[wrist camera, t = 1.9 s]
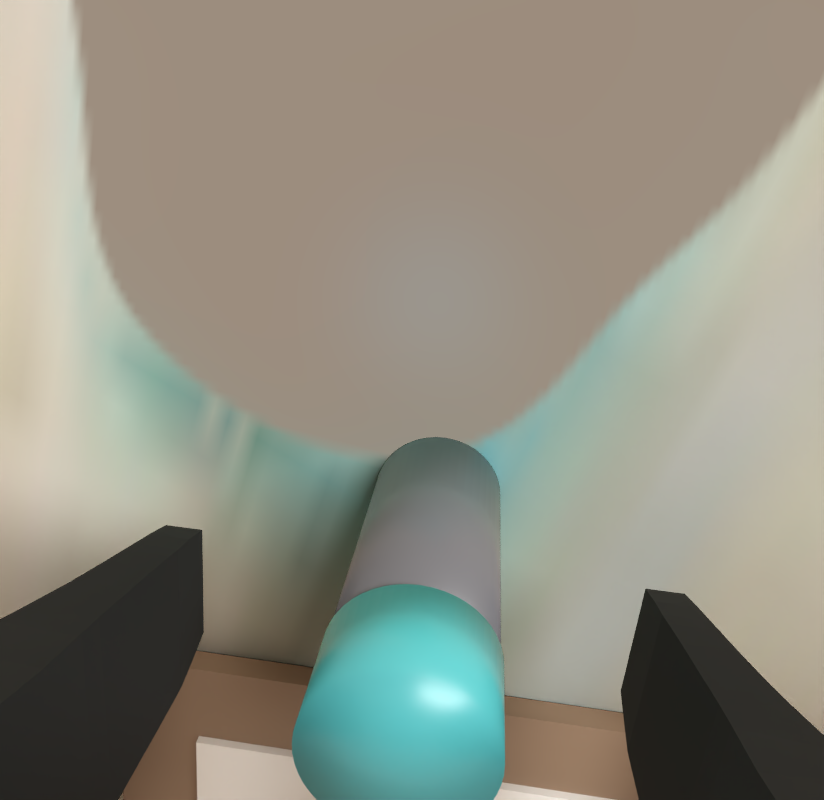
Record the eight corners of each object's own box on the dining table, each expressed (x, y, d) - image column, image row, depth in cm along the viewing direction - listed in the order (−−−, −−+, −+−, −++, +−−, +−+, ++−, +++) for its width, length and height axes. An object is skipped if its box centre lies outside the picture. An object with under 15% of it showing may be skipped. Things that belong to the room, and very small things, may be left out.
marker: (511, 444, 16) (519, 690, 9) (493, 557, 17) (490, 851, 10) (378, 427, 16) (295, 657, 9) (369, 540, 17) (288, 818, 10)
